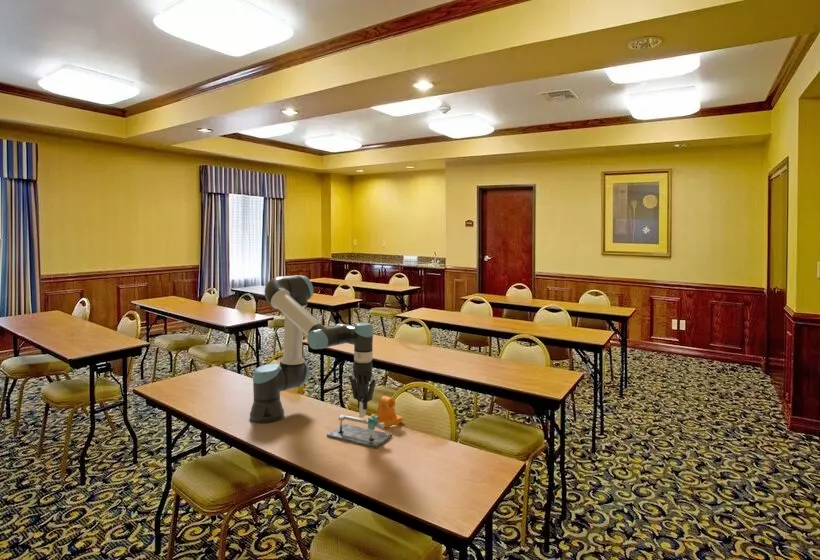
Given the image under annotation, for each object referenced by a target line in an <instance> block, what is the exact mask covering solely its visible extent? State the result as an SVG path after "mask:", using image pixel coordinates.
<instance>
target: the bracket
mask: <svg viewBox="0 0 820 560" xmlns="http://www.w3.org/2000/svg"><path fill="white" fill-rule="evenodd" d="M395 406H396V400H395V398H393V397H390V396H387V395H382V396H381V398H380V399H379V403H378V405H377V409H376V413H375V415H376V416H379V418H378V422H379V423H382V422H383V423H384V428H389V427H390V426H392V425H396V426H399V425H400V423H402V422H403V416H402V415H398V414H396V411H395Z"/></svg>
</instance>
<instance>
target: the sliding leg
mask: <svg viewBox="0 0 820 560" xmlns="http://www.w3.org/2000/svg"><path fill="white" fill-rule="evenodd" d="M378 418H379V416H376V413H375V414H374V413H372V414H371V416H369V417H368V418H367V420H368V424H367V429H370V439H372V430H375V428H376V426H375V422H378Z"/></svg>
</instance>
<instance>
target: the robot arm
mask: <svg viewBox="0 0 820 560" xmlns="http://www.w3.org/2000/svg"><path fill="white" fill-rule="evenodd" d="M313 295H314V286H313V283H312V282H311V281H310V279H309V277H307V276H306V275H297V274H296V275H295V274H294V275H285V276H275V277H274V278H271V279H270V280H269V281H268V282H267V283H266V284H265V288H264V298H265V299H266V302H267V303H268V304H269V305H270V306H271V307H272V308H274V309H277V310H279V311H280V313H282V314H283V315H284V327H283V354H282V355H283V356H282V357H281V358H280V359H279V364H277V363H270V364H264V365H263V364H262V365H260V366H258V367H257V368H255V370H254V371H253V373H252V374H253V377H252V382H253V383H252V385H253V390H252V391H253V402H252V406H251V408H250V409H251V411H249V420H250V421H251V422H253V423H259V424H265V423H267V424H268V423H273V422H277V421H280V420H282V419H283V418H284V417H285V409H284V408H283V405H282V401H281V392H284V391H288V390H291V389H294V388H295V389H296V388H299V387H301V386H304V385H305V384H306V383H307V382H308V381H309V377H310V368H309V365H308V363H307V362H306V361H305V359H304V357H303V356H302V355H303V339H304V338H303V336H304V335H305V336H306V337H307V338H306V340H307V341H306V342H307V343H308V346H309V347H310V348H311V349H312V350H319V349H320V350H322V349H326V348H329V347H334V346H340V345H343V344H350V345H353V346H354V347H353V348H354V349H353V360H354V361H353V370H354V371H353V373H352V374H350V375H348V380H349V381H350V385H351V391H352V395H353V399H354V400H356V401H357V409H359V410H358V412H359V413H358V415H359V417H358V418H360V419H364V417H365V416H366V415H367V409H368V402H370V401H372V400H373V396H374V392H375V387H376V384H377V383H378V380H379V379H378V378H375V377H374V376H373V375H374V374H373V372H372V371H373V354H374V353H373V352H374V351H373V343H374V342H373V340H374V328H373V327H374V325H373V324H372V323H369V322H356V323H355V324H354V325H350V324H346V323H337V324H335V326H332V327H326V326H324V324H322V323H321V322H320V321H319V320H318V319H316V317H315V316H314V315H312V314H311V313H310V312H308V310H307V309H305V308H306V307H307V306H308V301H309V300H310V299H312V297H313ZM303 333H304V334H303Z"/></svg>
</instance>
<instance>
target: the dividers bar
mask: <svg viewBox="0 0 820 560" xmlns="http://www.w3.org/2000/svg"><path fill="white" fill-rule="evenodd" d="M344 420H347V421H351V422H355V423H360V424H364V425H368V419H364V418H361V417H355V416H351V415H347V414H340V416H338V421H339V427H340V433H342V425H343V421H344ZM375 427H379V428H380V429H384V428H385V427H384V423H383V422H382V423H379V422H375Z"/></svg>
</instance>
